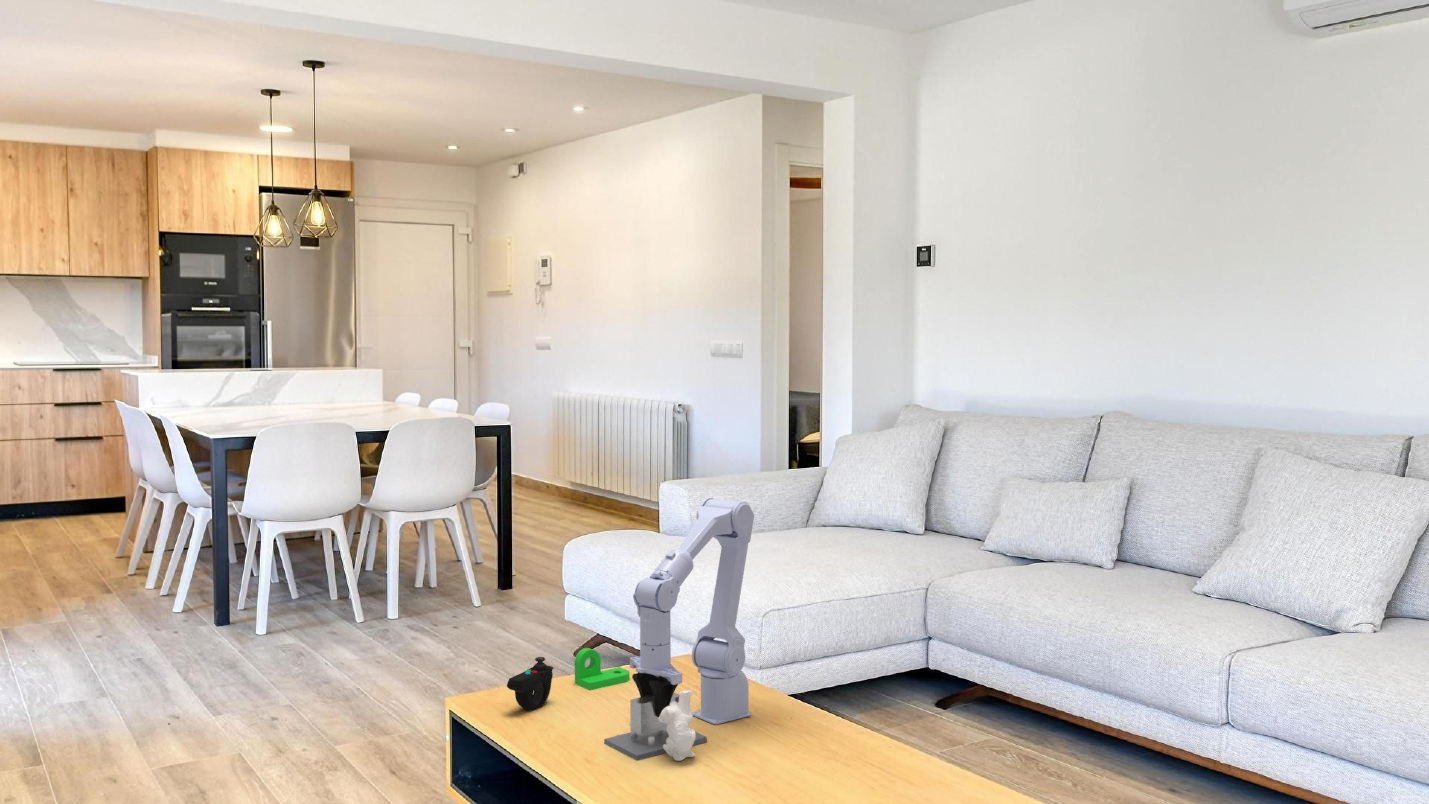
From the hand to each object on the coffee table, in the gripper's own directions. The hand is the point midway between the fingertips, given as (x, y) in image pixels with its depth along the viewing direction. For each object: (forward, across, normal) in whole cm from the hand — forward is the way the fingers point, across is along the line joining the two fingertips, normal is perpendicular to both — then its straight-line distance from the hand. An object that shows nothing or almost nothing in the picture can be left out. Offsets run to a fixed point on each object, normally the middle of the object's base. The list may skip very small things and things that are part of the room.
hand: (655, 713), depth 220 cm
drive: (+3, 0, 0) cm, 3 cm away
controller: (+6, -32, -9) cm, 34 cm away
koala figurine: (+6, +9, -1) cm, 11 cm away
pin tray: (+6, 0, 0) cm, 6 cm away
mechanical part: (+6, -39, +13) cm, 41 cm away
